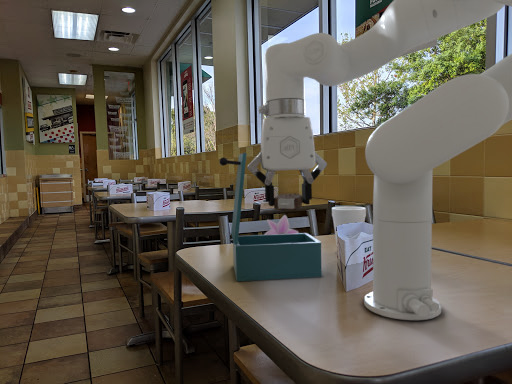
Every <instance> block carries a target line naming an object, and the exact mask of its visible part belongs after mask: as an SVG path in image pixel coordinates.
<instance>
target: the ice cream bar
mask: <svg viewBox="0 0 512 384" xmlns="http://www.w3.org/2000/svg"><path fill="white" fill-rule="evenodd" d="M302 206H303V203H302V194H300V193H282V194H278V195H276V196H274V206H273V209H274V210H276V211H283V212H285V211H286V212H287V211H288V212H289V211H291V212H292V211H299V210H300V209H301V208H302Z"/></svg>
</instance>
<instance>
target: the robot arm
mask: <svg viewBox="0 0 512 384" xmlns="http://www.w3.org/2000/svg"><path fill="white" fill-rule="evenodd" d="M505 6H508V7H511V8H512V0H392V2H390V3H389V5H388V6H387V8H386V9H385V10H384V12H383V13H382V15H381V17H380V18H379V19H378V20H377V22H376V23H375V24H374V25H373V26H372V27H370V28H369V29H368V30H367V31H365V32H363V34H361V35H359V36H357V37H355V38H353V39H351V40H349V41H346V42H344V43H342V44H340V43H339V42H338V41H337V39H336V38H335V37H334V36H332V35H330V34H329V33H326V32H316V33H312V34H309V35H306V36H304V37H302V38H299V39H296V40H294V41H291V42H282V43H276V44H273V45H270V46H269V47H268V48H266V50H265V52H264V56H263V57H264V58H263V60H264V61H263V64H264V87H265V88H264V90H265V103H264V105H262V106H258V114H262V115H264V116H265V118H264V119H262V126H261V135H260V151H259V153H258V154H257V156H255V157H254V159H253V160H252V161H250V162H249V164H248V165H247V169H248V170H249V172H251V173H252V174H253V175H254V176H255V178H257V179H258V180H259V181H260V182H261V183H262V184H263V185H264V197H265V199H264V201H265V202H266V203H268V206H269V207H274V198H275V186H274V185H273V178H274V176H275V173H276V171H299V173H300V176H301V177H302V179H303V181H302V182H303V183H301V195H302V204H304V205H310V203H311V202H310V200H311V201H312V199H313V192H312V190H313V187H312V184H313V183H314V181H315V180H316V179H317V178H318V177H319V176H320V174H321V173H322V172H323V171H324V170H325V169H326V167H327V166H328V162H326V160H324V159H323V158H322V157H321V155H319V154H318V153H317V152H316V148H315V139H314V132H313V126H312V121H311V119H310V118H311V117H309V116H306V92H305V89H306V88H305V78H308V79H311V80H314V81H316V82H317V83H319V85H322V86H326V87H335V86H336V87H337V86H339V85H343V84H346V83H348V82H351V81H354V80H356V79H359V78H361V77H364V76H366V75H368V74H371V73H372V72H375V71H377V70H379V69H380V68H382V67H384V66H385V65H388V64H390V63H391V62H393V61H394V60H396V59H398V58H400V57H401V56H403V55H404V54H406V53H407V52H409V51H411V50H413V49H415V48H418V47H420V46H422V45H425V44H427V43H429V42H432V41H434V40H436V39H439V38H441V37H444V36H446V35H449V34H451V33H454V32H457V31H459V30H461V29H464V28H466V27H469V26H471V25H474V24H477V23H479V22H481V21H484V20H486V19H488V18H490V17H492V16H494V15H495V14H498V13H499V12H500V10H502V9H503V8H504V7H505ZM511 120H512V53H510V54H508V55H506V56H505V57H504V58H501V60H499V61H497V62H496V63H495V64H494V65H492V66H490V67H489V68H488V69H486V70H484V71H483V72H481V73H469V74H468V73H467V74H463V75H462V74H461V75H459V76H456V77H453V78H452V79H450V80H447V81H446V82H444V83H441V85H439V86H438V87H436V88H435V89H432V90H431V91H430V92H429V93H427V94H426V95H424V96H423V97H421V98H419V99H418V100H416V101H414V102H413V103H412V104H410V105H409V106H407V107H405V108H404V109H402V110H401V111H400V112H398V113H397V114H395V115H394V116H392V117H390V118H389V119H388V120H386V121H384V122H382V123H381V124H380V125H379V126H378V127H376V128H375V129H374V131H372V133H371V134H370V136H369V138H368V139H367V141H366V143H365V144H366V145H365V151H364V157H365V162H366V166H367V167H368V168H369V170H370V171H371V173H372V174H373V190H372V191H373V193H372V194H373V195H372V291H370V292H368V293H367V294H365V296H364V298H363V304H364V306H365V307H366V308H367V310H369V311H370V312H372V313H374V314H376V315H380V316H382V317H384V318H385V317H386V318H389V319H395V320H401V321H427V320H431V319H435V318H438V317H439V316H440V315H441V313H442V308H443V307H442V303H441V302H440V301H439V300H438V299H436V298H435V297H433V288H432V261H433V260H432V257H433V256H432V255H433V254H432V253H433V252H432V251H433V249H432V248H433V245H432V243H433V241H432V240H433V239H432V238H433V177H434V175H433V171H434V169H435V168H438V167H439V166H441V165H442V164H444V163H446V162H448V161H450V160H451V159H453V158H455V157H457V156H458V155H460V154H462V153H464V152H466V151H467V150H469V149H471V148H473V147H474V146H476V145H477V144H480V143H481V142H482V141H485V140H486V139H488V138H490V137H491V136H493V135H494V134H495V133H497V131H498V130H499V129H500V128H501V127H502V126H503V125H505V124H507V123H508V122H510V121H511ZM259 164H260V166H261V168H262V169H263V170H265V171H266V172H265V174H264V173H263V172H262V171H261V170H260V169H258V165H259ZM312 168H314V169H312ZM311 169H312V171H310V170H311Z"/></svg>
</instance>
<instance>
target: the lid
mask: <svg viewBox="0 0 512 384" xmlns="http://www.w3.org/2000/svg"><path fill="white" fill-rule="evenodd" d="M247 155H248V154H247V152H242V153H240V154H238V161H237V160H229V159H228V158H227V157H221V158H220V159H219V161H218V163H219V165H220V166H223V167H224V166H226V165H234V166H237V171H236V182H235V190H234V191H235V192H234V201H233V203H234V204H233V212H232V222H231V232H230V235H231V238H232V243H233V242H234V244H238V236H240V235H239V234H240V223H241V213H242V202H243V196H244V195H243V194H244V183H245V176H246V175H245V173H246V163H247Z"/></svg>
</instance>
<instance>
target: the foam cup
mask: <svg viewBox="0 0 512 384" xmlns="http://www.w3.org/2000/svg"><path fill="white" fill-rule="evenodd" d="M331 217H332V221H333V229H334V235H335V243H336V245H337V231H336V227H337V226H338V225H341V224H347V223H355V222H364V223H365V221H366V218H367V208H366V207H363V206H355V205H354V206H347V205H346V206H333V207H331Z"/></svg>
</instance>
